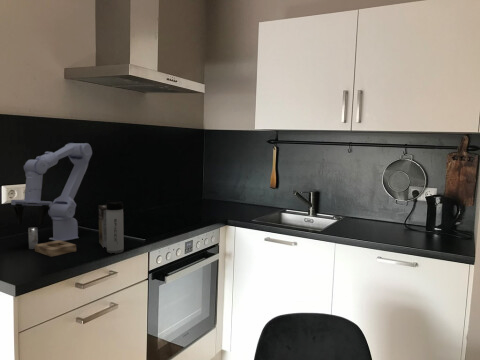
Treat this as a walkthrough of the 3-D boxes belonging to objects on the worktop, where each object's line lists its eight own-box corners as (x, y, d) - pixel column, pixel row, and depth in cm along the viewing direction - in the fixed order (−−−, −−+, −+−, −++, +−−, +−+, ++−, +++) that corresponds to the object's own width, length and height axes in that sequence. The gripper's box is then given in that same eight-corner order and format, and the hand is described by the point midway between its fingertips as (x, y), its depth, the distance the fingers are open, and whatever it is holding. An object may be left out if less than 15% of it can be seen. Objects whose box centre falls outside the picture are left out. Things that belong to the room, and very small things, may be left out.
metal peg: (35, 246, 160) (34, 227, 160) (39, 247, 158) (39, 228, 158) (27, 248, 158) (26, 228, 157) (31, 249, 156) (30, 229, 155)
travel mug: (112, 248, 159) (111, 199, 157) (126, 250, 157) (126, 200, 155) (102, 252, 153) (101, 201, 151) (117, 254, 151) (116, 202, 149)
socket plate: (59, 246, 162) (59, 240, 161) (76, 251, 154) (76, 244, 154) (34, 251, 153) (34, 244, 153) (51, 256, 146) (51, 250, 146)
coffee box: (98, 243, 168) (97, 205, 166) (114, 241, 171) (113, 204, 169) (102, 248, 160) (101, 208, 158) (119, 246, 163) (118, 207, 161)
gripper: (16, 188, 149) (13, 224, 149) (56, 191, 160) (53, 224, 159) (10, 188, 154) (7, 223, 153) (49, 190, 165) (46, 223, 164)
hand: (30, 224), depth 157 cm, fingers open, 7 cm apart
